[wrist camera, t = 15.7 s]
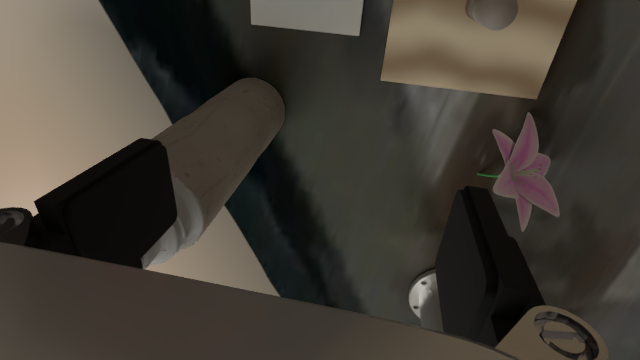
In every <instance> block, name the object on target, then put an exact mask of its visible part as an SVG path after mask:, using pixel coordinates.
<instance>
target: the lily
mask: <svg viewBox="0 0 640 360" xmlns="http://www.w3.org/2000/svg"><path fill="white" fill-rule="evenodd" d="M493 134H494V137H495V139H496V141H497V144H498V146H499V149H500V151H501V154H502V156H503V159H504V162H505V167H504V169H503V171H502V173H501V174H500V175H491V174H483V173H477V175H481V176H487V177H498V179H497V181H496V182H495V184H494V186H493V192H494V193H495V194H497V195H499V196H503V197H508V198H514V199H515V200H516V204H517V209H518V215H519V220H520V226H521V230H522V232H523V231H524V230H525V228H526V227H527V224H528V221H529V218H530V215H531V210H532V204H534V205H536V206H538V207H539V208H541V209H543V210H545V211H547V212H549V213H550V214H552V215H554V216H556V217H559V216H560V212H559V206H558V203H557V199H556V196H555V193H554V191H553V189H552V187H551V185H550V183H549V182H548V181H547V180H546V178H544V176H545V175H546V173H547V171H548V169H549V166H550V162H551V161H550V158H549V157H548V156H546V155H544V154H541V153H538V148H539V141H538V134H537V130H536V126H535V123H534V120H533V117H532V115H531V114H530V113H529V112H528V113H527V116H526V119H525V122H524V125H523V128H522V131H521V133H520V135H519V137H518V139H517V142H516V144H514V142H513V141H512V140H511V139H510V138H509V137H508V136H506V135H505V134H504V133H502V132H500V131H498V130H495V129H493Z"/></svg>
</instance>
